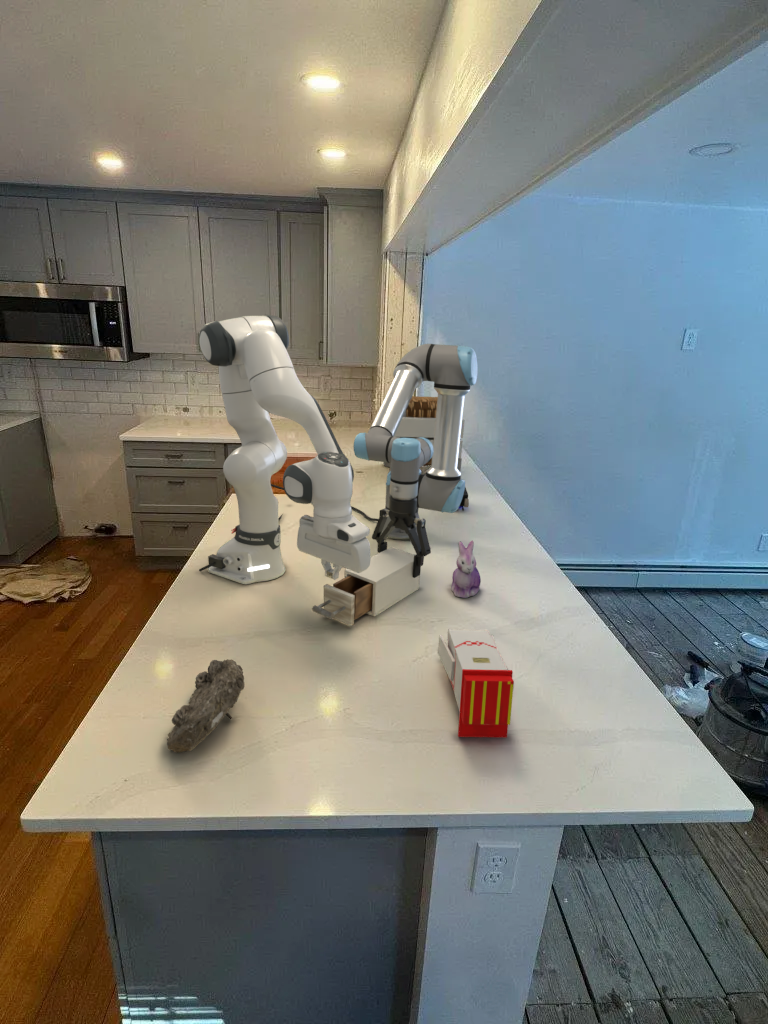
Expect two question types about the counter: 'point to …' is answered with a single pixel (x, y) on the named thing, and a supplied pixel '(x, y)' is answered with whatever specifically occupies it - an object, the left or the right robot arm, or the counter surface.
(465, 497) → the figurine character
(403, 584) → the cabinet
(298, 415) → the left robot arm
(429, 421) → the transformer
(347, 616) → the drawer
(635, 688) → the counter surface
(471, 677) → the toy
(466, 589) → the figurine
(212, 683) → the fossil
